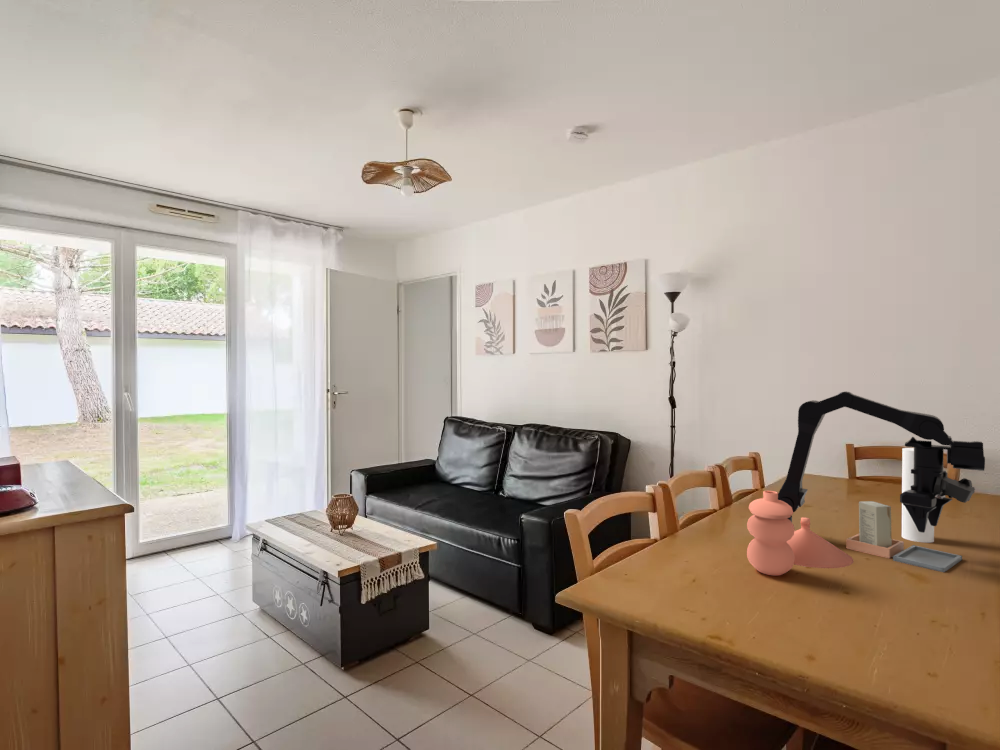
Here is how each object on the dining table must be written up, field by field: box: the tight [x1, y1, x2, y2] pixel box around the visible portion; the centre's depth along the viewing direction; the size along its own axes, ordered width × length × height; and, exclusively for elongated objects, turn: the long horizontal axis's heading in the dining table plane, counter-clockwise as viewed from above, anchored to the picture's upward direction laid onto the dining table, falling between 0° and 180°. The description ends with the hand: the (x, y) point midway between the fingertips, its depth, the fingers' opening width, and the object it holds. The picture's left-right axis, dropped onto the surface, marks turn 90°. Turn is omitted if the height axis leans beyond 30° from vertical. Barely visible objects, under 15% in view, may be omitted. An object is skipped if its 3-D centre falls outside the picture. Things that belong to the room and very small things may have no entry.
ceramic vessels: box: [746, 490, 854, 576], centre depth 133 cm, size 35×21×19 cm, turn 129°
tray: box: [892, 544, 963, 573], centre depth 132 cm, size 14×10×1 cm
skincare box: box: [858, 500, 892, 548], centre depth 140 cm, size 6×4×12 cm
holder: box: [845, 533, 905, 559], centre depth 140 cm, size 10×10×2 cm
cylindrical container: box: [901, 447, 935, 544], centre depth 149 cm, size 7×7×25 cm
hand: (927, 528), depth 132 cm, fingers open, 8 cm apart
